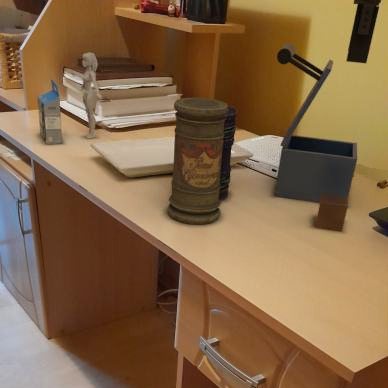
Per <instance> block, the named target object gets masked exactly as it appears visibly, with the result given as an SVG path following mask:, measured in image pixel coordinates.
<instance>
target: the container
mask: <svg viewBox="0 0 388 388" xmlns="http://www.w3.org/2000/svg"><path fill="white" fill-rule="evenodd" d="M228 106H229V105H228V104H227V103H226V102H224V101H222V100H219V99H212V98H204V97H183V98H178V99H176V100H175V101H174V104H173V109H174V110H175V113H174V116H175V127H174V130H173V131H174V136H175V142H174V167H173V173H172V179H171V192H170V193H171V194H170V196H169V197H168V202H169V204H168V205H167V213H168V215H169V217H170V218H172V219H173V220H175V221H177V222H180V223H183V224H187V225H209V224H212V223H215V222H216V221H218V219H219V218H220V216H221V209H220V206H221V201H219V190H220V183H219V181H220V170H221V159H222V149H223V137H224V122H225V120H226V117H225V116H224V115H225V114H227V112H228Z"/></svg>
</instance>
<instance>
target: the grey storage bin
mask: <svg viewBox="0 0 388 388" xmlns="http://www.w3.org/2000/svg"><path fill="white" fill-rule="evenodd" d="M281 147H282V146H281ZM357 162H358V143H357V142H352V141H343V140H335V139H329V138H319V137H313V136H303V135H296V134H292V135H291V137H290V139H289V140H288V142H287V144H286V145H285V147H282V148H281V150H280V156H279V164H278V169H277V176H276V183H275V188H274V197H278V198H284V199H285V198H286V199H291V200H298V201H305V202H314V203H319V204H320V199H321V194H322V193H324V194H331V195H338V196H345V197H348V198H349V196H350V191H351V188H352V184H353V183H352V182H353V179H354V176H355V175H354V174H355V170H356V166H357Z"/></svg>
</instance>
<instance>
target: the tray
mask: <svg viewBox="0 0 388 388" xmlns="http://www.w3.org/2000/svg"><path fill="white" fill-rule="evenodd" d="M174 142H175V135H174V136H173V135H172V136H164V137H163V136H162V137H161V136H160V137H151V138H150V137H149V138H137V139H125V140H115V141H113V140H112V141H101V142H99V141H98V142H92V143H90V144H89V145H90V147H91V148H92V149H93V150H94V151H95V153H97V154H98V155H99V156H101V157H102V158H103V159H104V160H106V161H107V162H108V163H109V164H111V165H112V166H113V167H114V168H115V169H116V170H117V171H118V172H120V173H121V174H122V175H124V176H125V177H127V178H139V177H140V178H141V177H149V176H156V175H157V176H158V175H159V176H160V175H166V174H167V175H168V174H173V167H174ZM231 150H232V151H234V152H235V153H231V159H230V165H231V167H233V166H235V164H239V163H241V162H244V161H246V160H249V159H251V158H252V157H253V156H254V153H253V152H251V151H249V150H248V149H246V148H244V147H242V146H240V145H238V144H236V143H235V142H234V143H233V145H232V149H231Z"/></svg>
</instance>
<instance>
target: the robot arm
mask: <svg viewBox="0 0 388 388" xmlns="http://www.w3.org/2000/svg"><path fill="white" fill-rule="evenodd" d="M381 2H382V0H353V5H357V6H356V10H355V15H354V18H353V19H354V20H353V25H352V29H351V35H350V39H349V43H348V49H347V55H346V62H348V63H357V64H358V63H360V64H367V62H368V58H369V54H370V50H371V44H372V41H373V36H374V32H375V27H376V23H377V19H378V14H379V10H380V4H381Z"/></svg>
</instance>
